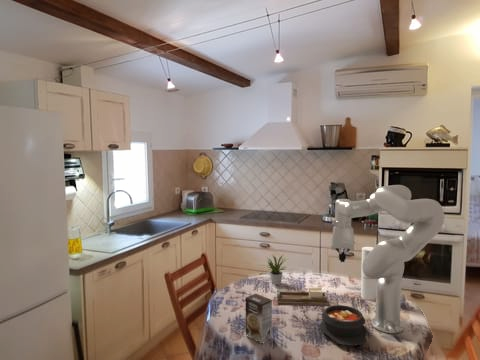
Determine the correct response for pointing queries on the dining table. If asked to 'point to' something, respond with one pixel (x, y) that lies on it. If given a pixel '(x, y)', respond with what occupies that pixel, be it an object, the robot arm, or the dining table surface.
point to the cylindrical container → (367, 279)
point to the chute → (299, 298)
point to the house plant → (276, 270)
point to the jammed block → (315, 292)
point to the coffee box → (259, 317)
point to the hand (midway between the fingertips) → (342, 261)
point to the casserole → (344, 325)
